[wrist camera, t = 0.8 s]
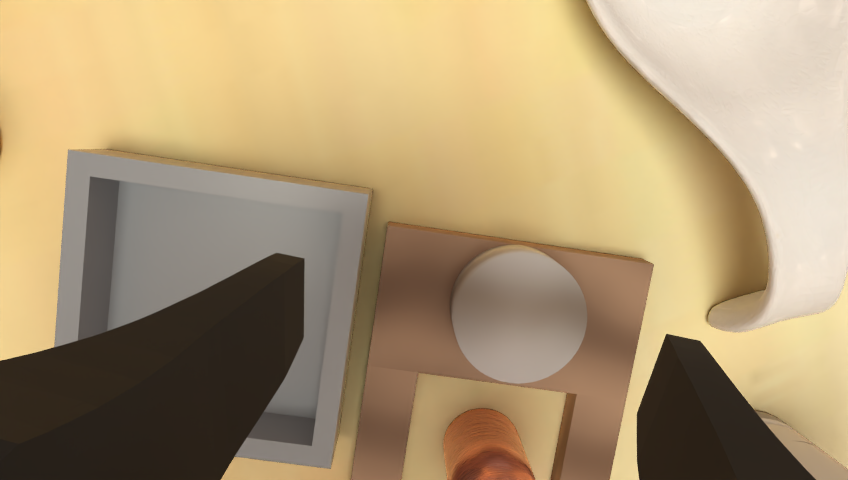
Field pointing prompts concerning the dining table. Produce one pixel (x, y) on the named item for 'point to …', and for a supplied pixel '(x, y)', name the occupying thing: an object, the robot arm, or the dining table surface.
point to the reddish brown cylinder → (484, 448)
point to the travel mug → (805, 451)
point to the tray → (217, 268)
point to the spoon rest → (760, 125)
